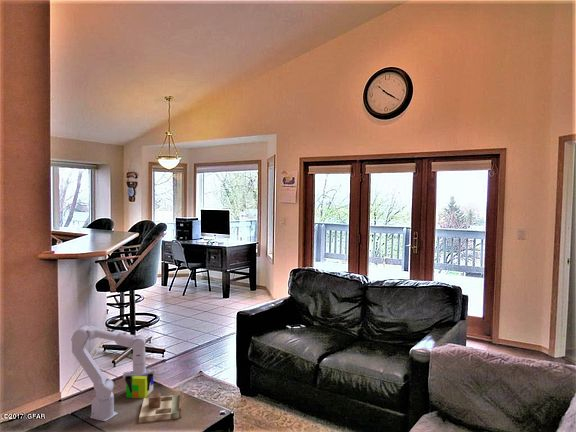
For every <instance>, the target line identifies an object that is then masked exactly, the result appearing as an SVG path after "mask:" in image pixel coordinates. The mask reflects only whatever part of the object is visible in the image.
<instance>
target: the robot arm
mask: <svg viewBox="0 0 576 432" xmlns="http://www.w3.org/2000/svg"><path fill="white" fill-rule="evenodd" d="M97 338H99V339H103V340H108V341H113V342H115V344H116V345H117V346H122V347H125V348H129V349H131V350H132V370H129V371H123V373H122V379H124V378H125V379H124V381H125V382H126V383H127V384H128V387H129V390H130V393H132V376H143V375H148V376H147V391H149V387H150V382H151V380H152V377H153V378H154V376H156V374H157V373H156V371H157V370H156V369H155V368H154V369H152V368H151V369H150V368H149V369H148V368H146V367H147V365H146V361H147V360H146V343H147V339H146V338H145V337H144V336H143V335H140V334H139V335H138V334H137V335H136V334H130V333H128V331H123V332H119V333H117V332H113V331H111V330H110V331H109V330H106V329H103V328H100V327H97V326H95V325H90V324H86V323H85V324H82V325H80V326H79V327H78V329H77V330H75V332H73V335H72V337H71V339H70V341H71V352H72V354H73V355H74V357H75V359H76V360H77V362H78V363H79V364H80V366H81V367H82V368H83V370H84V372H85V373H86V375H87V376H88V378H89V379H90V380H91V382H92V383H93V390H94V391H95V395H96V396H95V397H94V398H93V399H92V401H91V415H90V416H89V418H90V419H94V420H97V421H102V422H107V421H109V420H110V419H112V418H114V417H115V416H117V415H118V414H119V412H117V411H115V395H114V392H113V390H114V389H115V383H114V381H113V380H112V379H111V378H109V377H108V376H107V375H106V374H104V373H103V372H102V370H101V369H100V367H99V366H98V365H97V363H96V361H95V360H94V358H93V357H92V356H91V353H89V351H88V350H87V348H86V346H87V343H88V340H89V341H91V340H94V339H97ZM126 383H125V384H126Z"/></svg>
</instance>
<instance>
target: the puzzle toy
mask: <svg viewBox="0 0 576 432" xmlns="http://www.w3.org/2000/svg"><path fill="white" fill-rule="evenodd" d="M147 376H148V375H143V376H132V393H130V390H129V387H128V384H127V383H125V385H126V390H125V391H126V392H125V395H126V398H131V399H132V398H133V399H139V398H140V399H144V398H148V397H149V396H150V394H152V393H153V391H154V376H153V377H152V380H151V382H150V387H149V391H147Z"/></svg>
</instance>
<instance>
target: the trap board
mask: <svg viewBox="0 0 576 432" xmlns="http://www.w3.org/2000/svg"><path fill="white" fill-rule="evenodd" d="M182 411H183V390H180V391H179V394H174V395H173V394H172V395H165V396H162V395H161V404H160V408H153V409H149V397H146V398H143V401H142V405H141V408H140V413H139V416H138V423H147V422H149V423H150V422H156V421H158V422H159V421H165V420H173V419H182V414H183V413H182Z"/></svg>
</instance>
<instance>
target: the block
mask: <svg viewBox="0 0 576 432" xmlns="http://www.w3.org/2000/svg"><path fill="white" fill-rule="evenodd" d="M161 397H162V395H161V392H155V393H153V392H151V393H150V394H149V395H148V398H149V409H153V408H160V404H161Z"/></svg>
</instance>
